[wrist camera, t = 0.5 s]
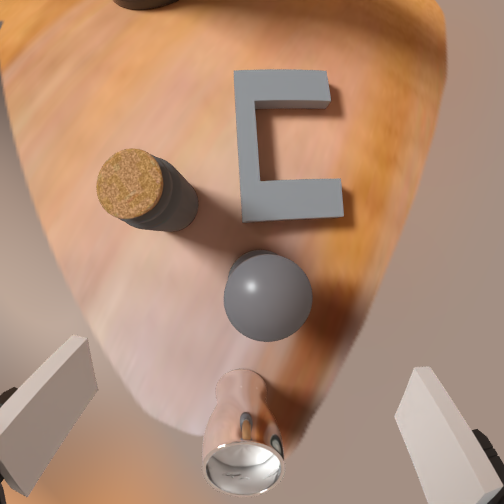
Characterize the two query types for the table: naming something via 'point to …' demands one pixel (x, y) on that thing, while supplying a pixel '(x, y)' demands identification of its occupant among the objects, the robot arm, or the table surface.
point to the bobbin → (267, 296)
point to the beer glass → (242, 438)
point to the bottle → (146, 192)
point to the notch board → (252, 189)
